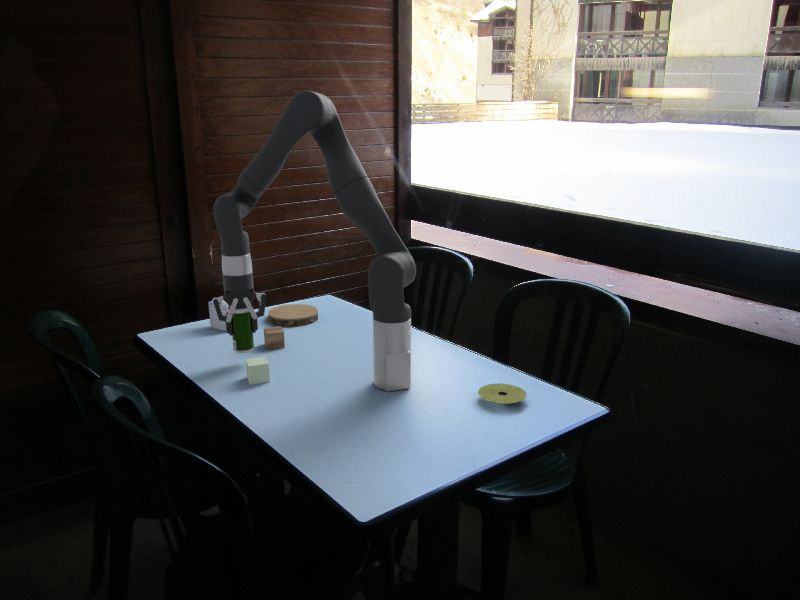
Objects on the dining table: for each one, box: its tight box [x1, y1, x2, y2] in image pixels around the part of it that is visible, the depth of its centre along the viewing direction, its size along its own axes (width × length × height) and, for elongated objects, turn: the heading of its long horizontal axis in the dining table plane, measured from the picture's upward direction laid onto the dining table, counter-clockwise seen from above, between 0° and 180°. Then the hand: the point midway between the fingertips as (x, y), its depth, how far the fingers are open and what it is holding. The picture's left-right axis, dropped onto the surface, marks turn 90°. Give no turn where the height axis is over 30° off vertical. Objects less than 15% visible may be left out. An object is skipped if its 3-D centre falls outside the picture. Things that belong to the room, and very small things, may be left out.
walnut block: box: [263, 326, 286, 351], centre depth 189 cm, size 5×5×5 cm
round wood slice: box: [267, 303, 319, 328], centre depth 214 cm, size 16×16×3 cm
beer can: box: [231, 307, 255, 354], centre depth 174 cm, size 5×5×12 cm
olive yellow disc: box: [477, 382, 528, 405], centre depth 154 cm, size 11×11×2 cm
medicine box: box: [208, 300, 229, 332], centre depth 204 cm, size 8×4×9 cm, turn 58°
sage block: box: [245, 356, 271, 386], centre depth 166 cm, size 5×5×5 cm
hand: (242, 333), depth 174 cm, fingers closed on beer can, 5 cm apart
